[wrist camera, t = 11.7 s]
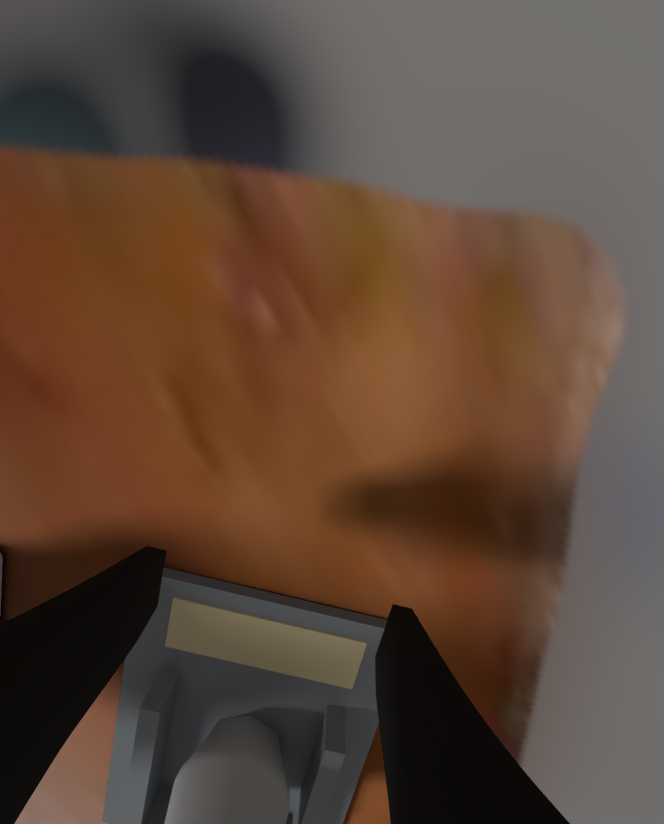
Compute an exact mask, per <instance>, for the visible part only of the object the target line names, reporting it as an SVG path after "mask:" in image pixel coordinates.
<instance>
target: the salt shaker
mask: <svg viewBox="0 0 664 824" xmlns="http://www.w3.org/2000/svg"><path fill="white" fill-rule="evenodd" d="M289 808H290V791H289V787H288V783H287V779H286V775H285V771H284V767H283V762H282V756H281V751H280V745H279V739H278V733H277V732H276V731H275V730H273V729H272V728H270V727H269V726H267V725H266V724H264V723H263V722H261V721H260V720H258V719H256V718H255V717H253V716H252V715H247V716H240V717H233V718H225V719H219V721H218V722H217V723H216V725H215V726H214V728H213V729H212V730H211V732H210V733H209V735H208V736H207V738H206V739H205V740H204V742H203V743H202V744H201V745H200V746H199V747H198V749H197V750H196V751H195V752H194V753H193V754H192V756H191V757H190V758H189V759H188V760H187V761H186V762H185V764H184V765H183V766H182V767H181V769H180V771H179V773H178V775H177V777H176V779H175V781H174V785H173V789H172V793H171V797H170V801H169V806H168V810H167V814H166V818H165V823H164V824H286V820H287V816H288V812H289Z"/></svg>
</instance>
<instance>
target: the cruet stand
mask: <svg viewBox="0 0 664 824" xmlns="http://www.w3.org/2000/svg"><path fill="white" fill-rule="evenodd" d="M386 623H387V620H385V619H381V618H377V617H373V616H368V615H364V614H360V613H356V612H351V611H347V610H343V609H339V608H334V607H330V606H326V605H322V604H317V603H313V602H309V601H305V600H300V599H296V598H292V597H288V596H283V595H279V594H275V593H271V592H266V591H262V590H258V589H254V588H249V587H245V586H241V585H237V584H232V583H228V582H224V581H220V580H215V579H211V578H207V577H203V576H199V575H194V574H190V573H186V572H182V571H177V570H173V569H169V568H165V567H164V569H163V575H162V581H161V588H160V594H159V600H158V606H157V608H156V610H155V611H154V613H153V615H152V617H151V618H150V620H149V622H148V624H147V625H146V627H145V629H144V631H143V632H142V634H141V636H140V637H139V639H138V641H137V642H136V644H135V645H134V647H133V648H132V649H131V651H130V652H129V654H128V655H127V656H126V658H125V662H124V669H123V676H122V683H121V691H120V698H119V705H118V712H117V720H116V727H115V734H114V741H113V748H112V756H111V763H110V770H109V777H108V785H107V792H106V799H105V806H104V814H103V821H102V822H107V823H111V824H164V823H165V818H166V814H167V810H168V806H169V801H170V797H171V793H172V789H173V785H174V781H175V779H176V777H177V775H178V773H179V771H180V769H181V767H182V766H183V765H184V764H185V762H186V761H187V760H188V759H189V758H190V757H191V756H192V754H193V753H194V752H195V751H196V750H197V749H198V747H199V746H200V745H201V744H202V743H203V742H204V740H205V739H206V738H207V736H208V735H209V733H210V732H211V730H212V729H213V728H214V726H215V725H216V723H217V722H218V721H219V719H225V718H233V717H240V716H247V715H252V716H253V717H255V718H256V719H258V720H260V721H261V722H263V723H264V724H266V725H267V726H269V727H270V728H272V729H273V730H275V731H276V732H277V733H278V739H279V745H280V751H281V756H282V762H283V767H284V771H285V775H286V779H287V783H288V787H289V791H290V808H289V812H288V816H287V820H286V824H343V821H344V819H345V816H346V813H347V810H348V808H349V805H350V802H351V799H352V796H353V794H354V791H355V788H356V785H357V783H358V780H359V777H360V774H361V771H362V769H363V766H364V763H365V760H366V758H367V755H368V752H369V749H370V746H371V744H372V741H373V738H374V735H375V733H376V730H377V727H378V724H379V718H378V710H377V701H376V682H375V655H376V652H377V649H378V647H379V644H380V641H381V638H382V635H383V632H384V629H385V626H386Z"/></svg>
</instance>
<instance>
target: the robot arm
mask: <svg viewBox="0 0 664 824" xmlns="http://www.w3.org/2000/svg"><path fill="white" fill-rule="evenodd" d="M165 556H166V550H162V549H157V548H153V547H149V546H146V547H144V548H143V549H141V550H139V551H137V552H135V553H134V554H132V555H130V556H128V557H127V558H125V559H123V560H121V561H120V562H118V563H116V564H115V565H113V566H111V567H109V568H108V569H106V570H104V571H102V572H101V573H99V574H97V575H95V576H93V577H92V578H90V579H88V580H86V581H84V582H83V583H81V584H79V585H77V586H75V587H74V588H72V589H70V590H68V591H66V592H64V593H62V594H60V595H58V596H56V597H54V598H52V599H50V600H48V601H47V602H45V603H43V604H41V605H39V606H37V607H35V608H33V609H31V610H29V611H27V612H25V613H23V614H20V615H18V616H16V617H14V618H12V619H10V620H8V621H5V622H3V623H1V624H0V824H14V823H15V821H16V820H17V818H18V817H19V815H20V813H21V812H22V810H23V808H24V807H25V805H26V803H27V802H28V800H29V799H30V797H31V795H32V794H33V792H34V791H35V789H36V787H37V786H38V784H39V782H40V781H41V779H42V778H43V776H44V774H45V773H46V771H47V770H48V768H49V766H50V765H51V763H52V762H53V760H54V758H55V757H56V755H57V754H58V752H59V751H60V749H61V748H62V746H63V745H64V743H65V742H66V740H67V739H68V737H69V736H70V734H71V733H72V731H73V730H74V729H75V727H76V726H77V724H78V723H79V722H80V720H81V719H82V718H83V716H84V715H85V713H86V712H87V711H88V709H89V708H90V706H91V705H92V704H93V702H94V701H95V699H96V698H97V697H98V695H99V694H100V693H101V691H102V690H103V688H104V687H105V686H106V684H107V683H108V681H109V680H110V679H111V677H112V676H113V675H114V673H115V672H116V670H117V669H118V668H119V666H120V665H121V663H122V662H123V661H124V659H125V658H126V656H127V655H128V654H129V652H130V651H131V649H132V648H133V647H134V645H135V644H136V642H137V641H138V639H139V637H140V636H141V634H142V632H143V631H144V629H145V627H146V625H147V624H148V622H149V620H150V618H151V617H152V615H153V613H154V611H155V610H156V608H157V606H158V600H159V594H160V588H161V581H162V575H163V569H164V562H165ZM2 560H3V558H2V555H1V553H0V614H1V587H2ZM375 682H376V701H377V710H378V718H379V727H380V735H381V743H382V751H383V759H384V767H385V775H386V783H387V791H388V799H389V809H390V820H391V824H570V823H569V822H568V821H567V820H566V819H565V818H564V817H563V816H562V815H561V813H560V812H559V811H558V810H557V809H556V808H555V807H554V805H553V804H552V803H551V802H550V801H549V800H548V799H547V797H546V796H545V795H544V794H543V793H542V792H541V791H540V790H539V788H538V787H537V786H536V785H535V784H534V782H533V781H532V780H531V779H530V778H529V777H528V776H527V774H526V773H525V772H524V771H523V769H522V768H521V767H520V766H519V765H518V763H517V762H516V761H515V759H514V758H513V757H512V756H511V754H510V753H509V752H508V751H507V749H506V748H505V747H504V746H503V744H502V743H501V742H500V740H499V739H498V738H497V737H496V735H495V734H494V733H493V731H492V730H491V729H490V727H489V726H488V725H487V723H486V722H485V721H484V719H483V718H482V717H481V715H480V714H479V712H478V711H477V710H476V708H475V707H474V705H473V704H472V702H471V701H470V700H469V698H468V697H467V695H466V694H465V692H464V691H463V689H462V688H461V687H460V685H459V684H458V682H457V681H456V679H455V678H454V676H453V675H452V673H451V671H450V670H449V668H448V667H447V665H446V664H445V662H444V661H443V659H442V657H441V656H440V654H439V653H438V651H437V649H436V648H435V646H434V644H433V643H432V641H431V640H430V638H429V636H428V635H427V633H426V631H425V630H424V628H423V626H422V625H421V623H420V621H419V620H418V618H417V616H416V615H415V613H414V612H413V610H412V609H411V608H406V607H402V606H398V605H394V604H393V605H392V608H391V611H390V614H389V617H388V620H387V623H386V626H385V629H384V632H383V635H382V638H381V641H380V644H379V647H378V649H377V652H376V655H375Z"/></svg>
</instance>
